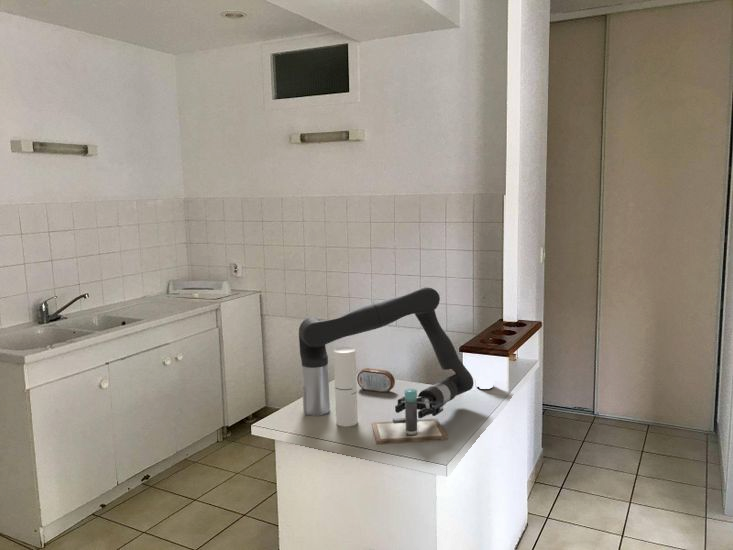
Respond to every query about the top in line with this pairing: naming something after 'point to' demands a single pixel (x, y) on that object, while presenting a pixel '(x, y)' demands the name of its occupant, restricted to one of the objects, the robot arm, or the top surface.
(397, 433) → the clipboard
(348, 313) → the robot arm
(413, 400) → the marker
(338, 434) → the top surface
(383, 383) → the tin
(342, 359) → the cylindrical container
